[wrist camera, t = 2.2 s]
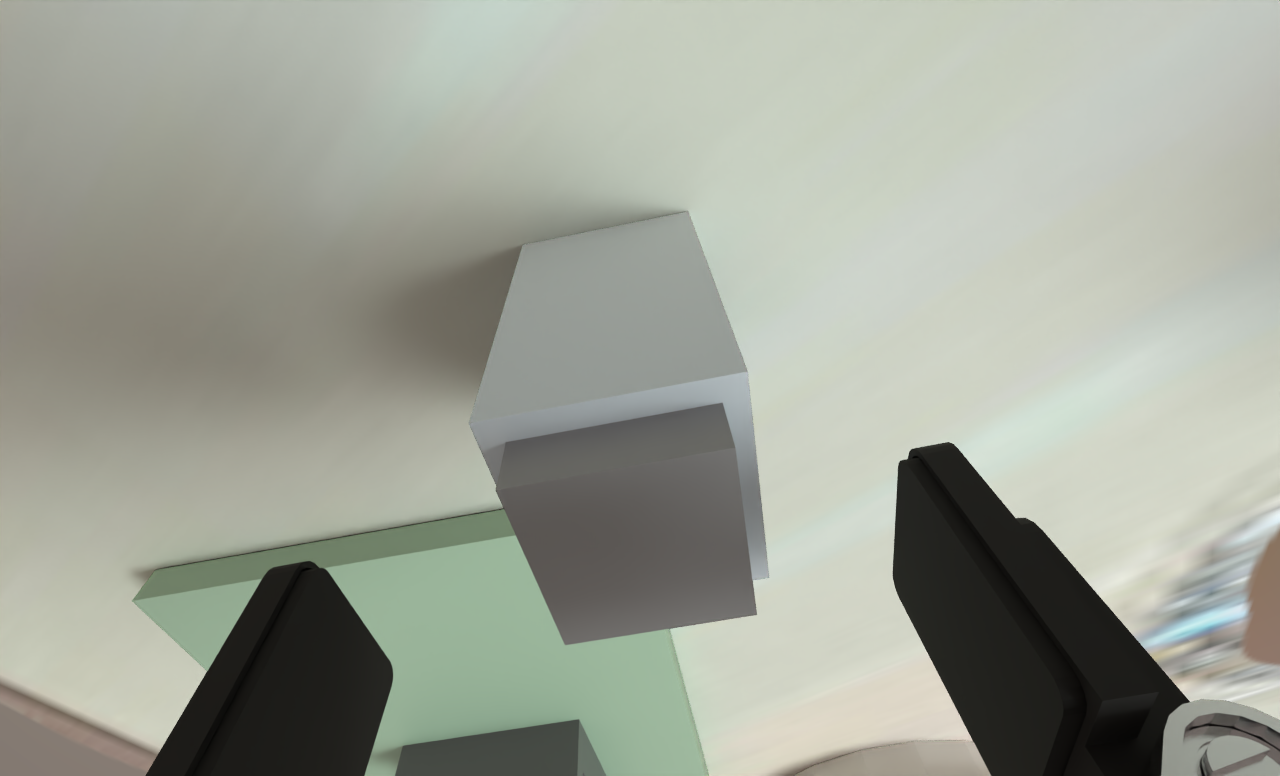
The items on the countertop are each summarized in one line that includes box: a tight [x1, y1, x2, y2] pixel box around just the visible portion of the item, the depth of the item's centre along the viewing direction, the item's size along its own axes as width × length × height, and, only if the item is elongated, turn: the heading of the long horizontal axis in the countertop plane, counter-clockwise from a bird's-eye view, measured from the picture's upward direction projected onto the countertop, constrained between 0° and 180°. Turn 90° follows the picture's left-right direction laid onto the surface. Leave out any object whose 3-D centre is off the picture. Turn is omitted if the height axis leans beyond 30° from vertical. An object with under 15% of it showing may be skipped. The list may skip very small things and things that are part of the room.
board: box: [132, 509, 709, 776], centre depth 24 cm, size 20×16×1 cm
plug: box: [469, 211, 769, 645], centre depth 12 cm, size 5×4×8 cm
